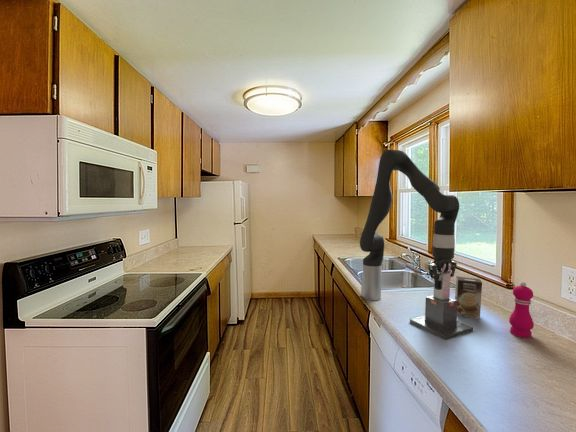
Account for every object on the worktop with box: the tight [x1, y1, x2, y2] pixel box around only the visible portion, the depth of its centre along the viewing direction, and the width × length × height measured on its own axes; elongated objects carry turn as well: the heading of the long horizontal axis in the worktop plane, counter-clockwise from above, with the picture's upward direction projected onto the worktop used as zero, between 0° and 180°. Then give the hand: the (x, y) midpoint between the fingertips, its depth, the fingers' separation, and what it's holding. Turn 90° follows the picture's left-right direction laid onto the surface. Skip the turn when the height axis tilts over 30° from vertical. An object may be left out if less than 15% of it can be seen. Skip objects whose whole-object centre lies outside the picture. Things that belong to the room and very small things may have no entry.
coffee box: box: [454, 276, 483, 320], centre depth 126 cm, size 9×6×16 cm
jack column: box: [433, 271, 452, 301], centre depth 114 cm, size 4×4×18 cm
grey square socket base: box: [409, 294, 474, 341], centre depth 115 cm, size 16×16×12 cm
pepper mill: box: [508, 281, 535, 339], centre depth 109 cm, size 7×7×20 cm
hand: (441, 288), depth 114 cm, fingers closed on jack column, 4 cm apart
